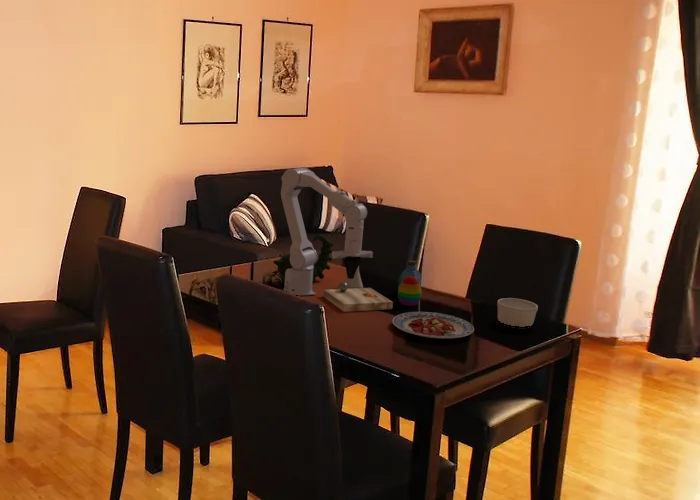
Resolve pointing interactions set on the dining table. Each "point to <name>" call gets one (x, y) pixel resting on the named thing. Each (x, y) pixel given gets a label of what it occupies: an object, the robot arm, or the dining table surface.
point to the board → (357, 299)
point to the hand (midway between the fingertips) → (350, 278)
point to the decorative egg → (409, 291)
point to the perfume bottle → (410, 272)
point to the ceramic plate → (433, 325)
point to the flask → (355, 281)
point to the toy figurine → (318, 266)
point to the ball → (343, 286)
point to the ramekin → (516, 312)
